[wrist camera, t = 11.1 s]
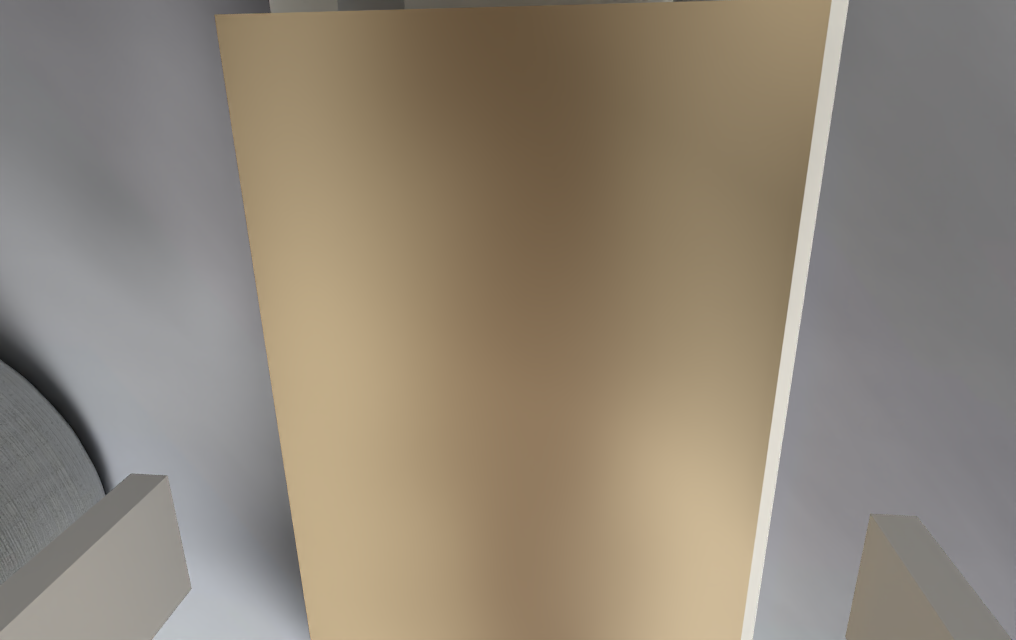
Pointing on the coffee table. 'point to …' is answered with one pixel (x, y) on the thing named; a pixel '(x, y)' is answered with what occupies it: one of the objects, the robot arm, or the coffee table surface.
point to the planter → (37, 473)
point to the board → (525, 304)
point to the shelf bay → (287, 3)
